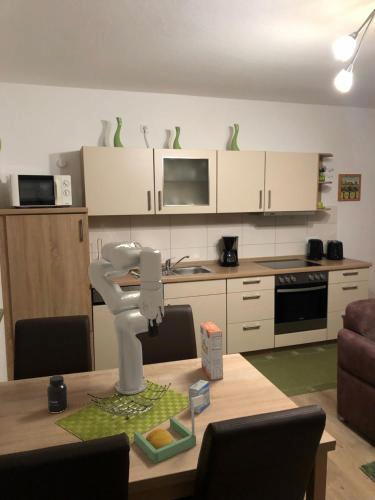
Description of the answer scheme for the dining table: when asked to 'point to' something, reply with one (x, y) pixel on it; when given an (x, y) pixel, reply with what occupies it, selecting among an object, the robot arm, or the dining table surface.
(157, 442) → the bread roll
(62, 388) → the supplement bottle
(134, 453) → the dining table surface
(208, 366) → the cracker box
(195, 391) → the medicine box
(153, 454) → the green u-shaped frame
